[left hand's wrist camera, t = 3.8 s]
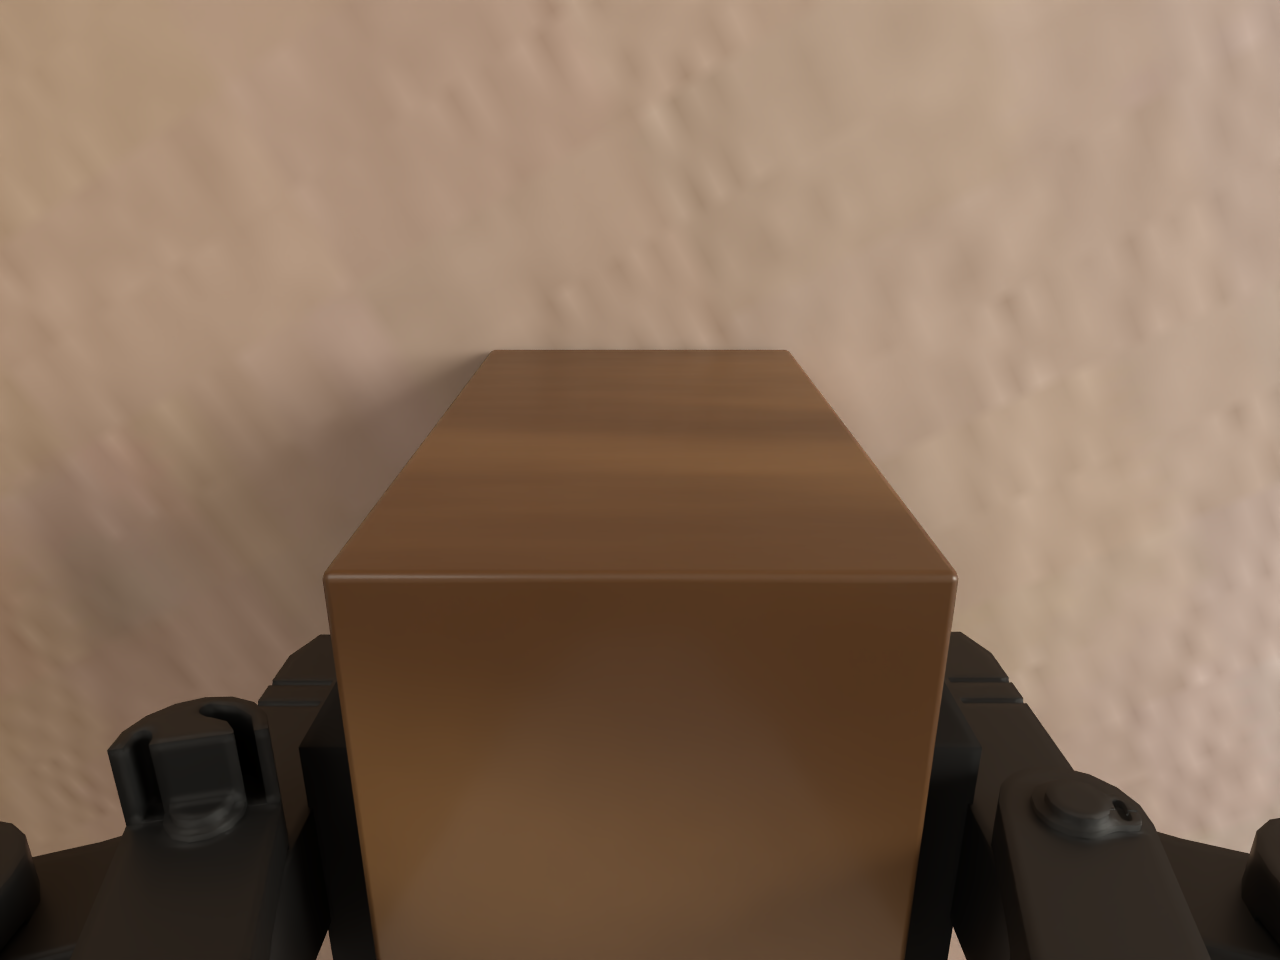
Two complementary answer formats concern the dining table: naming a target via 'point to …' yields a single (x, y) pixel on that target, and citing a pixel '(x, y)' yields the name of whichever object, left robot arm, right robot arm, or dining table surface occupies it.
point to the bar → (640, 670)
